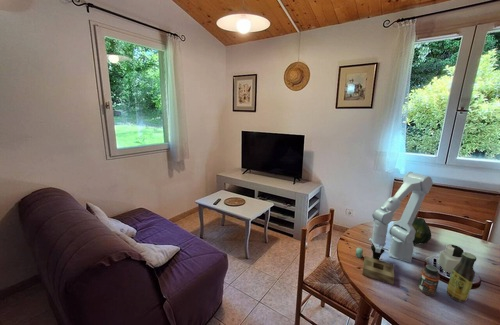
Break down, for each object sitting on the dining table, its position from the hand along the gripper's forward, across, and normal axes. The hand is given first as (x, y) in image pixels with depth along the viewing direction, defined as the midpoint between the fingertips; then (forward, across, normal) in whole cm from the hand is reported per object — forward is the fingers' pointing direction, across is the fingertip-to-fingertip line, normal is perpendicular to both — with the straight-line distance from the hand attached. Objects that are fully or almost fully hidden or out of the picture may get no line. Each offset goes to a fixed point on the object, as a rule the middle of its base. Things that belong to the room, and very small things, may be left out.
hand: (375, 257), depth 111 cm
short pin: (+2, 0, -8) cm, 8 cm away
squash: (+2, -32, +19) cm, 37 cm away
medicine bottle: (+2, -11, +31) cm, 33 cm away
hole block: (+2, +9, +1) cm, 9 cm away
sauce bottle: (+2, +9, +29) cm, 30 cm away
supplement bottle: (+2, +11, +19) cm, 22 cm away
